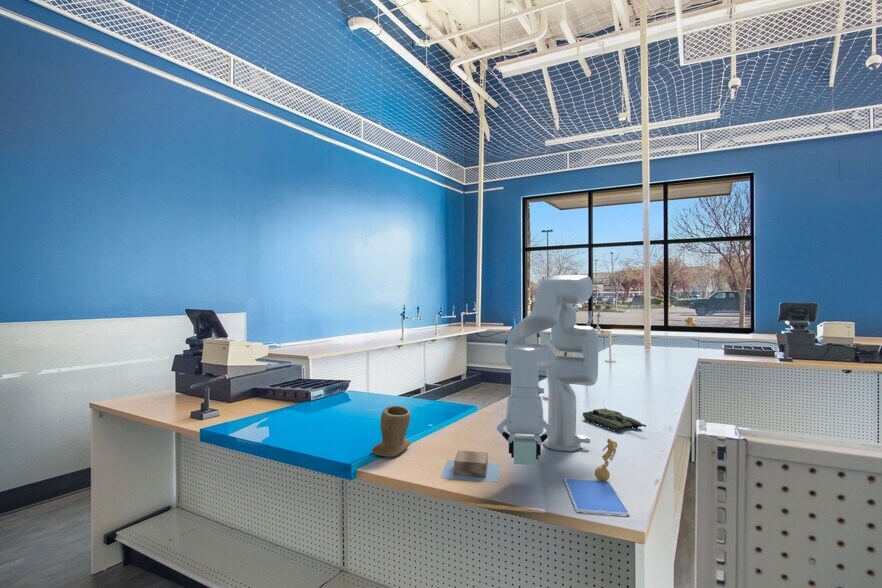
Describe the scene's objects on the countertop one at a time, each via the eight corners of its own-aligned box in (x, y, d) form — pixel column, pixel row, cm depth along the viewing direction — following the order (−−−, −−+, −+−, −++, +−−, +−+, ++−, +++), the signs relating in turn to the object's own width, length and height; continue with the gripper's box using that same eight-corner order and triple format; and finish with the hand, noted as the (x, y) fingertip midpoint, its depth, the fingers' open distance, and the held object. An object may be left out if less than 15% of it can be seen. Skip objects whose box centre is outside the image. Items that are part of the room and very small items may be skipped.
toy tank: (605, 417, 193) (606, 395, 193) (658, 435, 167) (658, 409, 167) (580, 420, 188) (581, 397, 188) (631, 439, 162) (631, 412, 162)
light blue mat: (499, 466, 132) (499, 463, 132) (497, 485, 118) (497, 482, 118) (447, 462, 134) (447, 459, 134) (440, 480, 121) (440, 477, 121)
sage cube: (535, 457, 122) (535, 436, 122) (536, 465, 116) (536, 443, 116) (513, 456, 123) (513, 434, 123) (513, 464, 117) (513, 441, 117)
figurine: (591, 474, 126) (591, 433, 127) (612, 476, 126) (613, 434, 126) (598, 486, 118) (598, 442, 118) (621, 488, 117) (621, 443, 118)
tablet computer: (563, 482, 122) (563, 477, 122) (609, 485, 121) (609, 480, 121) (576, 515, 103) (576, 509, 103) (631, 519, 101) (631, 513, 101)
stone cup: (399, 462, 134) (400, 413, 135) (366, 456, 139) (367, 409, 139) (420, 447, 148) (420, 403, 149) (389, 442, 153) (390, 400, 153)
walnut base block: (487, 465, 130) (487, 452, 130) (485, 477, 121) (485, 463, 121) (458, 463, 131) (458, 450, 132) (453, 475, 123) (454, 460, 123)
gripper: (555, 390, 122) (555, 454, 122) (494, 387, 125) (493, 450, 124) (558, 396, 114) (558, 464, 114) (492, 393, 117) (492, 459, 117)
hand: (524, 456), depth 119 cm, fingers closed on sage cube, 6 cm apart
